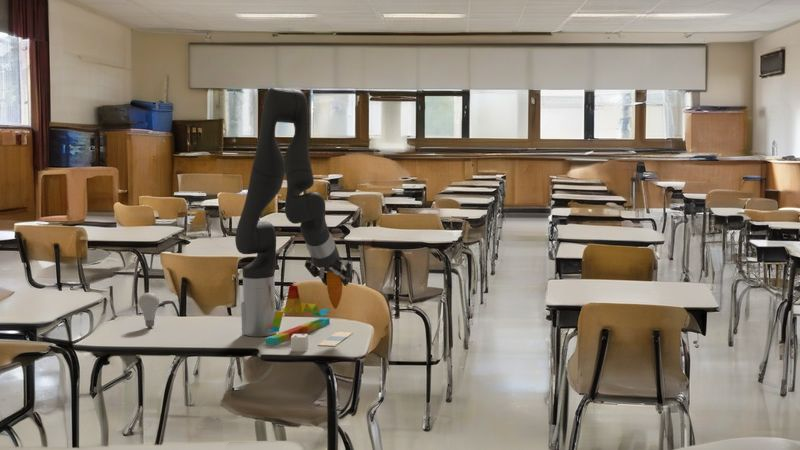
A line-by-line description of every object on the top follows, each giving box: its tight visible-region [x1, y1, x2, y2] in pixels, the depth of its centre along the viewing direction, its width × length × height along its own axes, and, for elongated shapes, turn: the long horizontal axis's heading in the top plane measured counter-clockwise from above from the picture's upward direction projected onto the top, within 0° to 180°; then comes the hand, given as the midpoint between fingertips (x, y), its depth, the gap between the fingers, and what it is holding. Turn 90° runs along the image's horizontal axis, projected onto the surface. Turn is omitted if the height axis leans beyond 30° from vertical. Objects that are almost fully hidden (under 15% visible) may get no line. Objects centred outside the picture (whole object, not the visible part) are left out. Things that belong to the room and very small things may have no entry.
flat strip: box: [317, 331, 354, 347], centre depth 268 cm, size 5×16×1 cm, turn 165°
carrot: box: [326, 271, 344, 310], centre depth 266 cm, size 5×5×15 cm
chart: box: [264, 284, 331, 346], centre depth 276 cm, size 30×3×15 cm, turn 153°
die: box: [290, 333, 309, 352], centre depth 257 cm, size 4×4×4 cm
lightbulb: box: [138, 292, 160, 329], centre depth 287 cm, size 6×6×11 cm
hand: (336, 283), depth 268 cm, fingers closed on carrot, 5 cm apart
